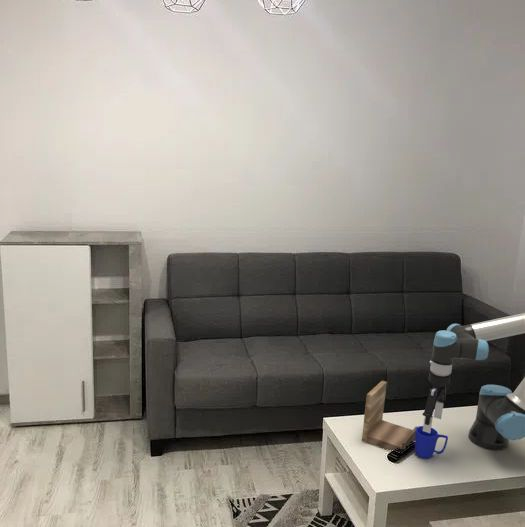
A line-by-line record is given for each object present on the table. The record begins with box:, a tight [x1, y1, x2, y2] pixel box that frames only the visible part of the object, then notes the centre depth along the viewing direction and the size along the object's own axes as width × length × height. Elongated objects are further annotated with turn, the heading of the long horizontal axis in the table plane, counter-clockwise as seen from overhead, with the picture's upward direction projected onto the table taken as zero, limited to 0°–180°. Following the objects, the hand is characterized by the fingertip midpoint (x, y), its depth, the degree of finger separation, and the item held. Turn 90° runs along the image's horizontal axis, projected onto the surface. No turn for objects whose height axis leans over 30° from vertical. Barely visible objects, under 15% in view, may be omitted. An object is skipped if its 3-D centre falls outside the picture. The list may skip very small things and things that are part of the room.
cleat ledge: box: [365, 419, 418, 452], centre depth 242 cm, size 15×16×5 cm
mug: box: [414, 425, 449, 460], centre depth 232 cm, size 8×12×10 cm
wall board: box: [361, 380, 388, 443], centre depth 245 cm, size 2×16×20 cm, turn 148°
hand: (432, 424), depth 230 cm, fingers open, 13 cm apart
